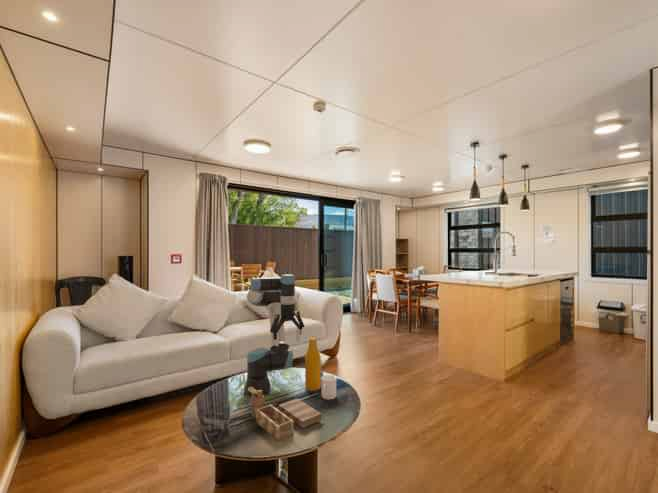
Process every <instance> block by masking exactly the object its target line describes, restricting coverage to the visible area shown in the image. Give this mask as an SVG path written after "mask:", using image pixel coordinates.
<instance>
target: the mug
mask: <svg viewBox="0 0 658 493" xmlns="http://www.w3.org/2000/svg"><path fill="white" fill-rule="evenodd" d="M320 389H321V392H320V393H321V398H323V399H324V400H326V401H327V400H330V399H331V400H334V399H336V398H337V377H336V376H334V375H329V374H328V375H323V376H321V387H320Z"/></svg>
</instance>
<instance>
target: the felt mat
mask: <svg viewBox="0 0 658 493" xmlns="http://www.w3.org/2000/svg"><path fill="white" fill-rule="evenodd" d="M323 425H325V422H323V420H320V421H318V422H316V423H313V424H311V425H309V426H306V427H304V428H301V427H300V426H299V425H297V424H296V423H294V422H293V427H295V428H296V429H297V430H298V431H300V432H302V433H303V434H305V433H308V432H309V431H312V430H314V429H317V428H318V427H321V426H323Z"/></svg>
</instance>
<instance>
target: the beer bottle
mask: <svg viewBox="0 0 658 493" xmlns="http://www.w3.org/2000/svg"><path fill="white" fill-rule="evenodd" d="M304 361H305V363H304V364H305V369H304V370H305V371H304V372H305V374H304V377H305V380H304V381H305V383H304V386H305V387H304V388H305V389H306V390H307V391H310V392H314V391H315V392H316V391H318V390H320V389H321V378H322V374H321V370H322V368H321V367H322V366H321V362H322V360H321V354H320V351H319V348H318V342H317V338H316V337H310V338H309V340H308V349H307V351H306V354H305V358H304Z"/></svg>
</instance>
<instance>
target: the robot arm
mask: <svg viewBox="0 0 658 493" xmlns="http://www.w3.org/2000/svg"><path fill="white" fill-rule="evenodd" d="M295 279H296V278H295V275H294V274H286V273H285V274H281V275H280V276H279V277H278V276H275V277H271V276H270V277H253V278H251V279H250V283H249V284H250V286H249V287H250V290H249V291H248V292H247V296H246V297H247V300H248V302H249V303H250V304H251V305H253V306H254V307H255V306H256V307H265V309H266V311H268V318H269V328H270V329H269V332H270V336H271V337H270V338H271V346H270V347H269V350H268V348H267V347H258V348H257V347H256V348H254V349H252V350H250V351H249V352H248V353H247V358H246V364H247V368H246V372H247V373H246V374H247V375H246V381H245V383H244V384H245V385H244V387H243V388H244V389H243V391H244V392H243V393H244V394H245V395H247V396H250V397H252V393H251V392H250V391H248V387H251V386H252V387H253V388H255V389H256V390H262V391H263V395H266V394H268V393H269V392H271V389H272V388H271V387H272V386H271V383H270V378H269V375H268V372H274V371H282V370H288V369H290V368H292V366H293V360H294V359H293V358H294V351H293V348H292V347H290V344H288V342H287V340H286V332H285V331H286V330H285V324H284V323H285V322H291V321H292V323H293V324H294V325H295V326H296V329H295V330H296V331H295V332H296V334H295V335H296V336H295V338H296V341H297V342H301V335H302V330H303V328H305V324H304V321H303V319H302V317H301V315H300V311H299V310H295V309H296V307H295V306H296V304H295V302H296V301H295V295H296V294H295V292H296V291H295V290H296V288H295V286H296V285H295V284H296V280H295ZM295 317H296V318H295Z"/></svg>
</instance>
